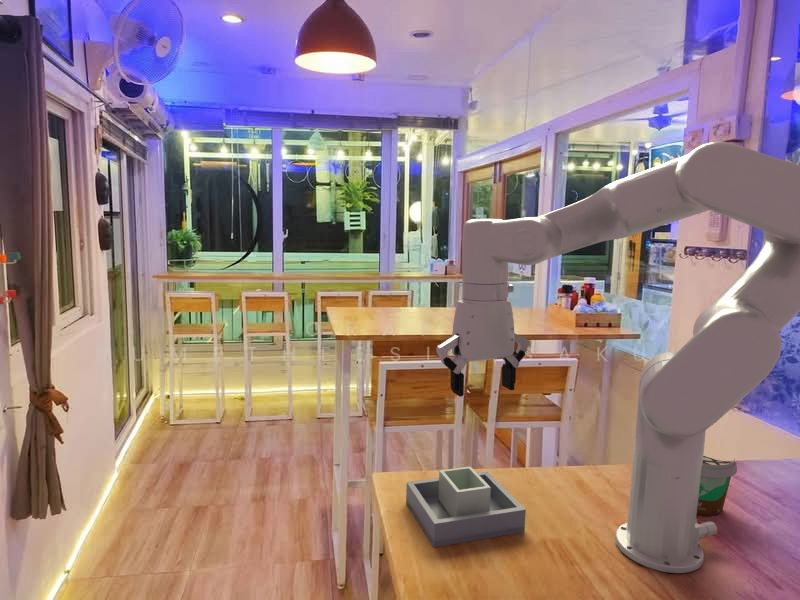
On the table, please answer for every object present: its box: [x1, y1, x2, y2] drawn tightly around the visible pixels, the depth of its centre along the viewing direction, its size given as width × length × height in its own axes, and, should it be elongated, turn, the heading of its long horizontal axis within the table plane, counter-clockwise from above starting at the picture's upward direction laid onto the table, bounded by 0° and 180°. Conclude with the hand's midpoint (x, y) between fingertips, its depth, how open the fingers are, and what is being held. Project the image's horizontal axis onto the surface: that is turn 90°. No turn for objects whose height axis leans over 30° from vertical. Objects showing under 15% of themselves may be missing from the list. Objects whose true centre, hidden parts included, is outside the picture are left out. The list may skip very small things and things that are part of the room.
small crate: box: [438, 466, 491, 518], centre depth 96 cm, size 6×8×6 cm
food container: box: [696, 455, 738, 518], centre depth 99 cm, size 12×6×10 cm, turn 62°
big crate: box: [405, 471, 527, 548], centre depth 96 cm, size 16×14×4 cm
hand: (483, 391), depth 96 cm, fingers open, 9 cm apart
